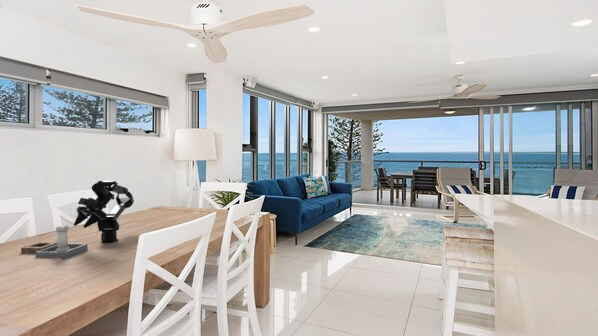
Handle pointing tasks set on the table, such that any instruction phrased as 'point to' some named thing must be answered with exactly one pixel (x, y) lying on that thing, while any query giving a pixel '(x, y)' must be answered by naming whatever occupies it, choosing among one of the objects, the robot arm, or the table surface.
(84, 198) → the robot arm
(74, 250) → the parts tray
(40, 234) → the table surface
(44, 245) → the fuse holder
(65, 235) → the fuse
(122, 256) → the table surface
